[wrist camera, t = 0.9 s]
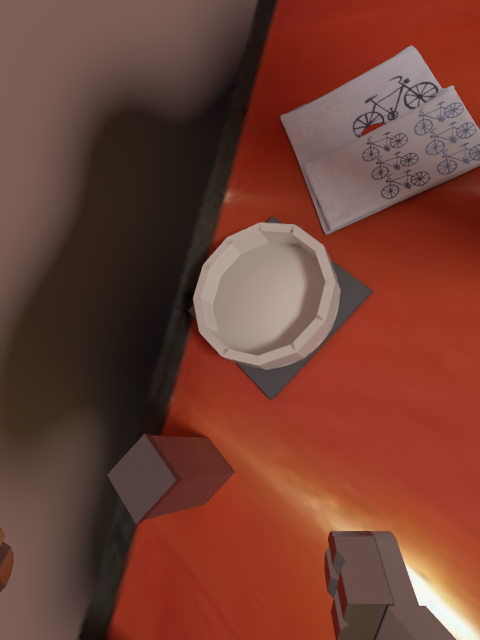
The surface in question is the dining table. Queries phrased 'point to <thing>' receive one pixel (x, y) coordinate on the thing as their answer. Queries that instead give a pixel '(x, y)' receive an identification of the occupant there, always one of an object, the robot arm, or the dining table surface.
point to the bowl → (267, 296)
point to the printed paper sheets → (381, 140)
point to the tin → (168, 475)
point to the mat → (349, 302)
